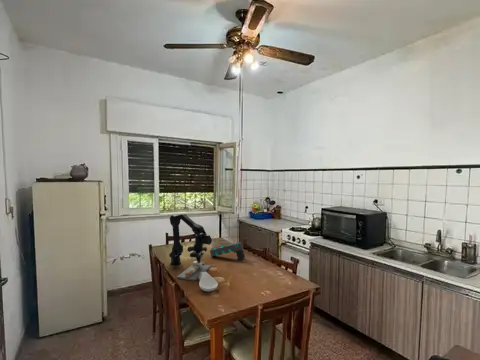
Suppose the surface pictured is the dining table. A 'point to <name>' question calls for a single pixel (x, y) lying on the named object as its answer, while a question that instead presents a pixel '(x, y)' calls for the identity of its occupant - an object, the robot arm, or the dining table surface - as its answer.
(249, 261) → the dining table surface
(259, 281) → the dining table surface
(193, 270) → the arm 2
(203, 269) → the board
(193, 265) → the grey rectangular block
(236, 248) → the gun
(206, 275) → the spoon rest
